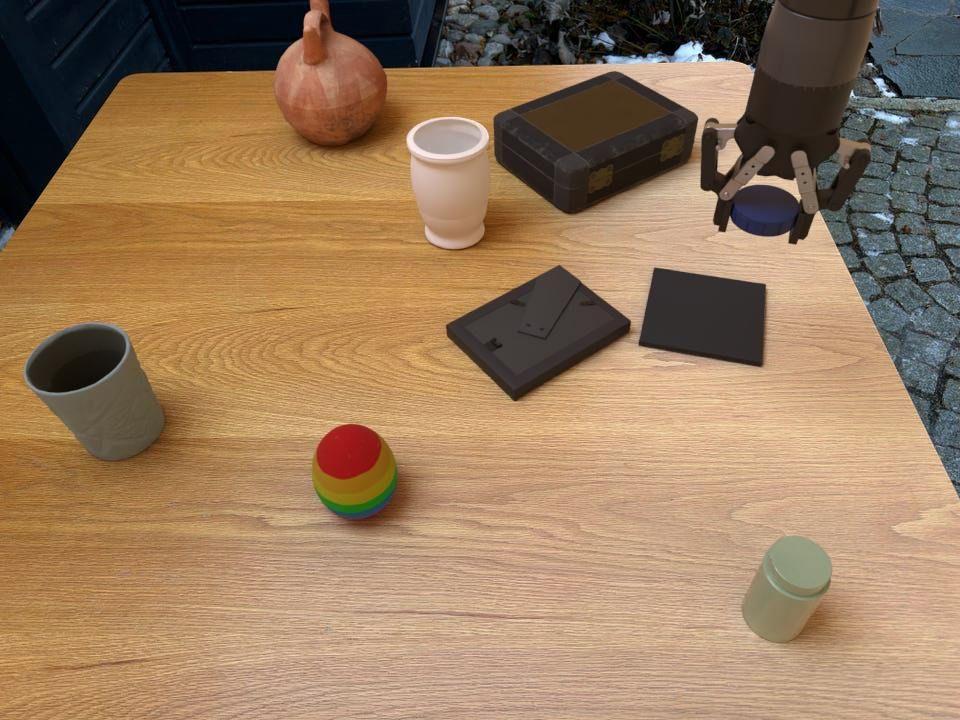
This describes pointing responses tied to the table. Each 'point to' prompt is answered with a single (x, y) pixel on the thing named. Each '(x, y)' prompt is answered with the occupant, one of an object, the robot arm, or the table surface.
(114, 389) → the grey cup
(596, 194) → the cash box
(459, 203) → the jar
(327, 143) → the jug
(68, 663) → the table surface
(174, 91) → the table surface
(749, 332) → the mat
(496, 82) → the table surface
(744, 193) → the lid
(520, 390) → the picture frame
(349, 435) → the decorative egg
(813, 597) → the spice jar
